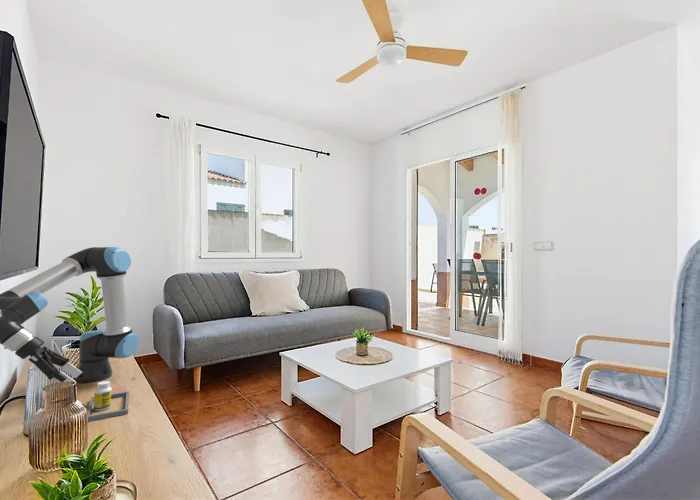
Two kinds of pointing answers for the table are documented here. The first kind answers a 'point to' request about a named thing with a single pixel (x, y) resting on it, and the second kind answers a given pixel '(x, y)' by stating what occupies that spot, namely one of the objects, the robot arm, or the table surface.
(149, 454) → the table surface
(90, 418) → the rectangular frame
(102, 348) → the robot arm
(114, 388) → the coaster
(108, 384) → the supplement bottle
